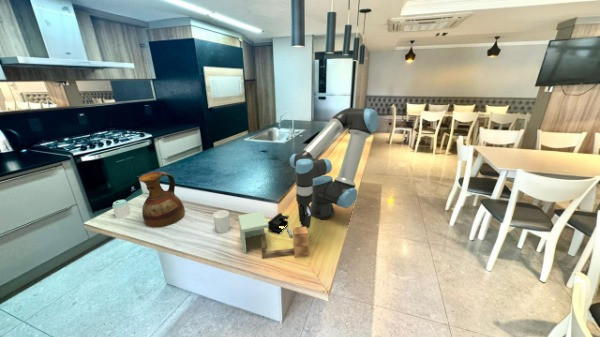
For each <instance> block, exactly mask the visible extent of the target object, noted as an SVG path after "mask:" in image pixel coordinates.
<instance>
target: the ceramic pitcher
mask: <svg viewBox="0 0 600 337" xmlns="http://www.w3.org/2000/svg"><path fill="white" fill-rule="evenodd" d="M165 176H166V177H167V178H168V180H169V181H168V182H169V184H168V185H169V186H168V189H167V190H164V189H163V187H162V186H161V183H160V182H161V181H160V180H161V178H162V177H165ZM138 181H139V182H141V183H144V184H145V185H146V186H145V187H146V190H148V196H147V197H146V199H145V201H144V203H143V205H142V209H141V211H142V218H143V220H144V223H145V224H146V225H147V226H148V227H151V228H163V227H167V226H168V227H169V226H171V225H174V224H175V223H177V222H179V221H180V220H181V219H182V218H183V217H184V215H185V212H186V210H185V205H184V203H183V201H182V200H181V199H180V198H179V197H178V196H177V195H176V194H175V189H176V188H175V187H176V180H175V178H174V176H173V175H172V174H170V173H169V172H165V171H152V172H149V173H145V174H142V175H141V176H139V177H138Z"/></svg>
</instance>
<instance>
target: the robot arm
mask: <svg viewBox="0 0 600 337" xmlns="http://www.w3.org/2000/svg"><path fill="white" fill-rule="evenodd" d="M379 118H380V117H379V115H378V112H377V111H376V110H375V109H373V108H368V107H367V108H366V107H365V108H358V107H348V108H345V109H342V110H340V111H338V113H336V114H335V115H333V116H332V118H330V119H329V121H328V124H327V125H326V126H325V127H324V128H323V129H322V130H321V131H320V132H319V133H318V134H317V135H316V136H315V137H314V138H313V139H312V140H311V141H310V142H309V143H308V144H307V145H306V146H305V147H304V148H303V149H302V150H301V151H300V152H299V153H293V154H292V155H291V156H290V157H289V165H290V167H292V168H294V169H295V183H296V184H295V188H294V189H295V192H296V194H295V197H296V198H295V199H296V202H297V208H298V218H299V222H300V225H301V226H300V227H307V230H309V228H311V220H312V218H314V219H318V220H327V219H331V218H333V216H334V215H335V208H334V205H336V206H338V207H341V208H343V209H347V208H350V207H351V206H352V205H354V203H355V202H356V200H357V198H358V190H357V189H356V183H355V178H356V175H357V172H358V168H359V164H360V161H361V159H362V154H363V152H364V148H365V145H366V142H367V139H368V138H370V137H371V134H372V133H374V132H376V131H377V129H378V127H379V123H380V122H379ZM345 130H348V132H349V134H350V135H349V139H348V143H347V147H346V149H345V153H344V156H343V159H342V163H341V167H340V170H339V174H338V176H337V177H336V178H334V179H333V177H332V176H330V175H327V174H330V173H331V171H332V170H333V169H332V168H333V165H332V162H331V161H330V159H328V158H321V159H318V158H317V157H318V156H319V154H320V153H321V152H322V151H323V150H324V149H325V148H327V146H328V145H329V144H330V143H331V141H333V140H334V138H336V137H337V135H338V134H341V133H343V131H345Z"/></svg>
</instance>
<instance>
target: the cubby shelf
mask: <svg viewBox="0 0 600 337" xmlns="http://www.w3.org/2000/svg"><path fill="white" fill-rule="evenodd" d="M268 222H269V221H267V218H266V215H265V214H264V211H262V210H261V211H258V212H251V213H246V214H241V215H240V214H239V215H238V224H239V225H238V226H239V233H240V240H241V247H242V252H243V254H247V245H246V239H247V238H251V237H255V236H256V235H257V236H261V235H260V234H262V235H263V234H265V235H266V233H265V229H268V227H269V226H268Z"/></svg>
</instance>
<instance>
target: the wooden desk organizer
mask: <svg viewBox="0 0 600 337" xmlns="http://www.w3.org/2000/svg"><path fill="white" fill-rule="evenodd" d="M308 230H309V229H308ZM308 230H307V227H301V226H299V227H292V234H293V238H292V239H293V241H292V242H293V244H292V245H293V248H284V249H283V248H282V249H275V250H267V249H266V248H267V246H266V233H265V234H262V235H261V255H262V256H261V257H262V259H270V258H280V257H288V256H294V258H303V257H309V231H308Z"/></svg>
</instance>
